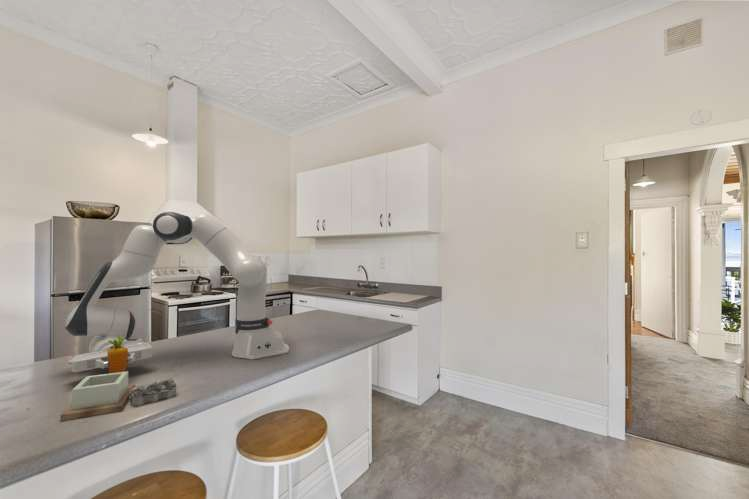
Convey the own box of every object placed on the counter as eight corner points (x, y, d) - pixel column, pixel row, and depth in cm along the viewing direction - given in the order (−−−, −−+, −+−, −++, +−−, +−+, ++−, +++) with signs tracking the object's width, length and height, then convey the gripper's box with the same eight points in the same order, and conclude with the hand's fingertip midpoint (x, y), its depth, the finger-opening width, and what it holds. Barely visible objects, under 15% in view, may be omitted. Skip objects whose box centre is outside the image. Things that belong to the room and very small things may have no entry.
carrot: (115, 388, 95) (116, 338, 96) (102, 386, 96) (103, 337, 97) (131, 381, 100) (132, 334, 100) (118, 380, 101) (119, 333, 101)
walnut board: (135, 389, 95) (135, 384, 95) (121, 411, 82) (122, 405, 82) (83, 397, 89) (83, 391, 90) (60, 421, 77) (60, 415, 77)
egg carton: (130, 409, 84) (130, 394, 84) (129, 399, 90) (129, 384, 90) (177, 397, 91) (177, 383, 91) (173, 388, 96) (173, 375, 96)
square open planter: (127, 388, 92) (128, 371, 92) (118, 402, 84) (118, 383, 84) (86, 394, 88) (86, 376, 88) (71, 409, 80) (72, 389, 80)
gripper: (67, 350, 99) (72, 360, 90) (146, 337, 115) (156, 345, 105) (67, 370, 99) (71, 383, 90) (145, 355, 115) (156, 364, 105)
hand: (118, 362), depth 98 cm, fingers closed on carrot, 5 cm apart
